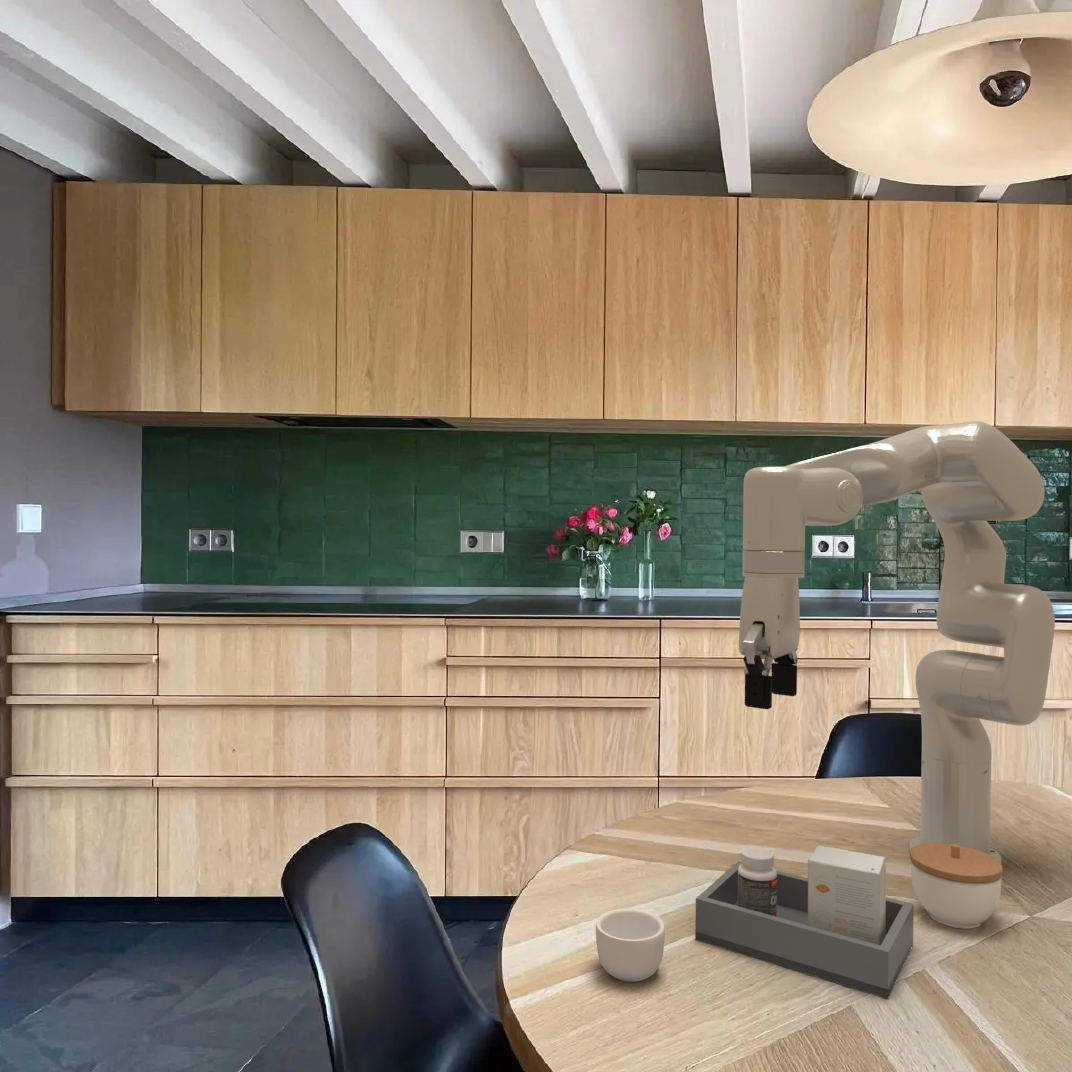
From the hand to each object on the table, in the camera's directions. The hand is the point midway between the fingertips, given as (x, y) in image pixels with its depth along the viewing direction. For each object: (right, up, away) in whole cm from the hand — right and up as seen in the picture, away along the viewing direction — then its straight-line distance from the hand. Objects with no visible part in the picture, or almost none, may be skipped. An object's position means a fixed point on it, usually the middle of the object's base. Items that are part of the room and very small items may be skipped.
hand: (771, 700), depth 105 cm
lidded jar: (+24, -29, +3) cm, 38 cm away
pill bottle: (-2, -28, -1) cm, 28 cm away
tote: (+3, -28, -4) cm, 29 cm away
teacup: (-18, -29, -10) cm, 35 cm away
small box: (+7, -28, -7) cm, 29 cm away
